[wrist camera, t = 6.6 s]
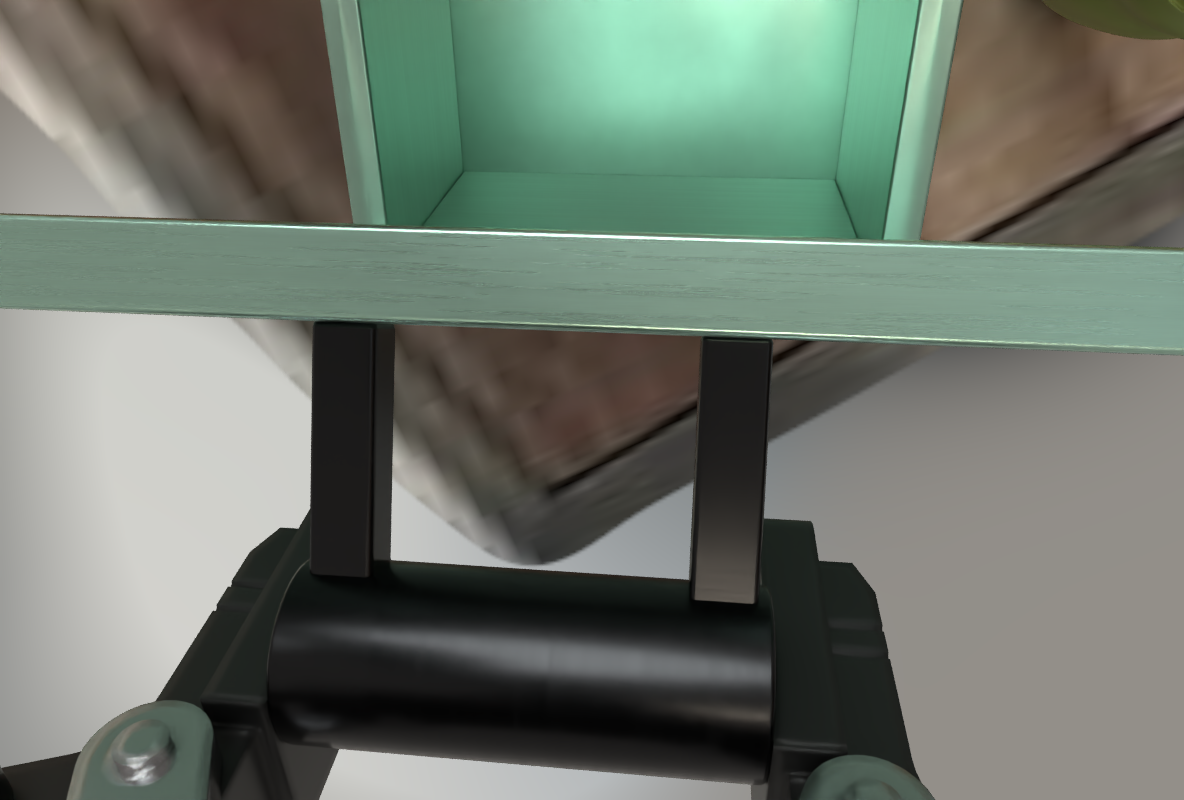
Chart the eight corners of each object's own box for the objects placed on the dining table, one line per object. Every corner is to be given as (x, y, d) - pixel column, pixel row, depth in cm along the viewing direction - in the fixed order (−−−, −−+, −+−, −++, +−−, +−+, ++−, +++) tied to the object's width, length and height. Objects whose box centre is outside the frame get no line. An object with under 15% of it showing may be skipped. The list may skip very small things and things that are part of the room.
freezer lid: (-284, 204, 8) (-258, 801, 8) (1445, 254, 7) (1363, 962, 7) (357, 285, 23) (353, 493, 24) (912, 305, 22) (897, 525, 22)
